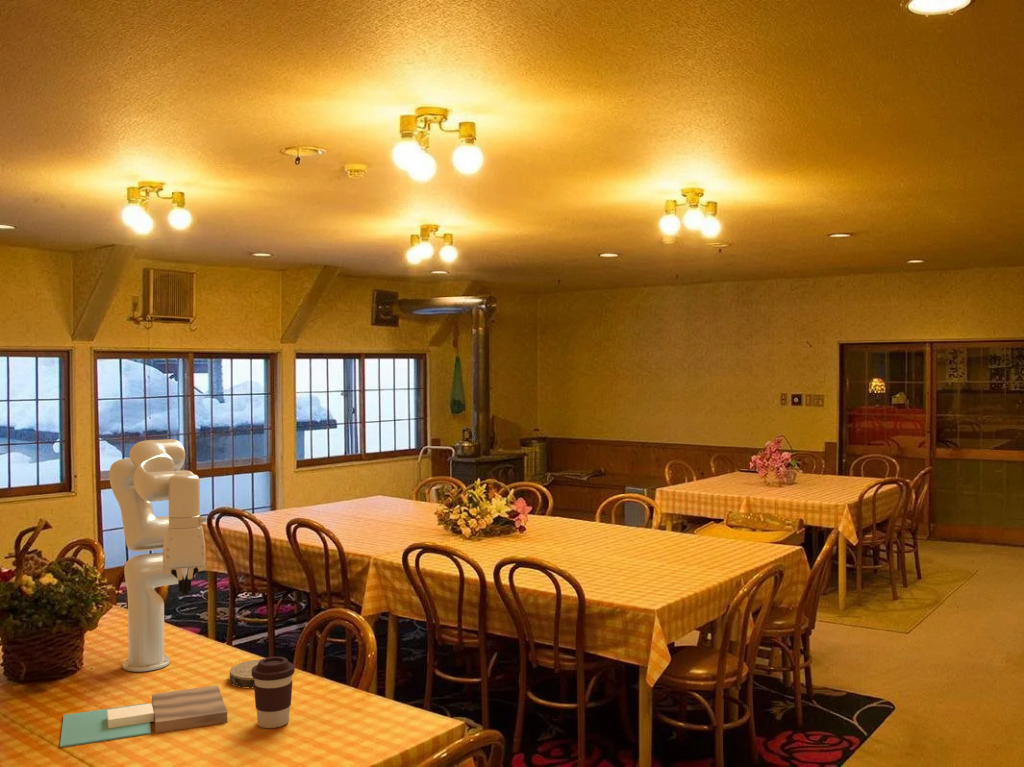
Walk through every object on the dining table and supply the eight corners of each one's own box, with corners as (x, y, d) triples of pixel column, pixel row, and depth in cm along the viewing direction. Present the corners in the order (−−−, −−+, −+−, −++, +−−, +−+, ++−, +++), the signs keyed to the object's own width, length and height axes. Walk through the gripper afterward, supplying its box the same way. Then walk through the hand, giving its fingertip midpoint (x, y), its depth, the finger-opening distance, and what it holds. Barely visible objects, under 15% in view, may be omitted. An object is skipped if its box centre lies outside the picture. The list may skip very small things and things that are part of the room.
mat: (63, 716, 222) (63, 714, 222) (147, 704, 230) (147, 703, 230) (59, 747, 204) (59, 745, 204) (151, 733, 211) (151, 732, 211)
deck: (151, 704, 230) (151, 694, 230) (218, 694, 237) (218, 685, 237) (155, 733, 212) (155, 722, 212) (227, 722, 218) (227, 711, 218)
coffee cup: (249, 719, 220) (249, 657, 220) (290, 712, 224) (290, 652, 224) (254, 734, 211) (254, 669, 211) (298, 727, 215) (297, 664, 215)
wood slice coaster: (239, 693, 239) (239, 681, 239) (222, 675, 252) (222, 665, 252) (298, 682, 247) (298, 671, 247) (279, 665, 261) (279, 655, 261)
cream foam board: (107, 718, 220) (107, 709, 220) (151, 711, 224) (151, 703, 224) (108, 728, 214) (108, 719, 214) (153, 721, 218) (153, 713, 218)
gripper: (213, 518, 239) (213, 588, 239) (152, 522, 233) (152, 594, 233) (216, 523, 232) (216, 594, 232) (153, 527, 226) (154, 600, 226)
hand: (184, 594), depth 233 cm, fingers closed
